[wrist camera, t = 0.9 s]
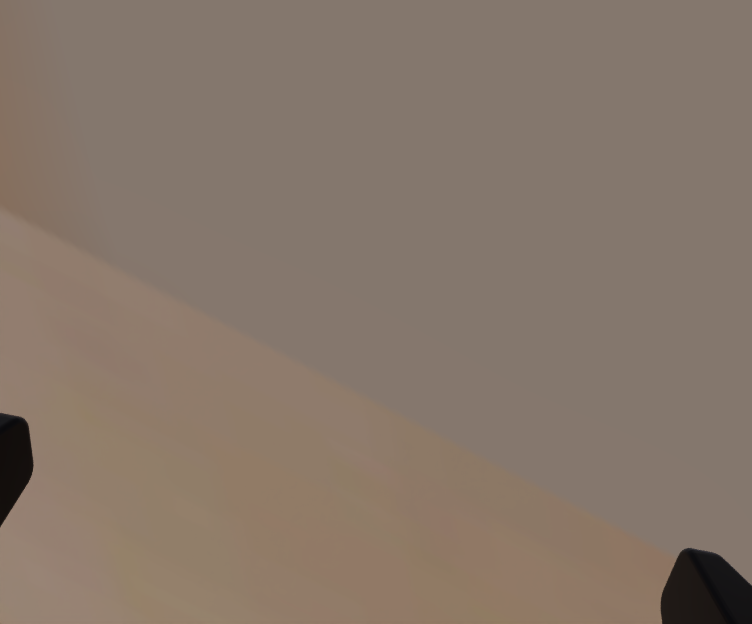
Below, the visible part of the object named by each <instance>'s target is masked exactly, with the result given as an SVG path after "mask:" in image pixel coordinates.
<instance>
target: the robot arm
mask: <svg viewBox="0 0 752 624" xmlns="http://www.w3.org/2000/svg"><path fill="white" fill-rule="evenodd" d="M32 472H33V456H32V448H31V440H30V433H29V426H28V423H27V422H26V420H25V419H23V418H22V417H19V416H14V415H9V414H4V413H0V527H1V525H2V524H3V522H4V520H5V519H6V517H7V516H8V514H9V512H10V511H11V509H12V508H13V506H14V505H15V503H16V501H17V500H18V498H19V497H20V495H21V493H22V492H23V490H24V489H25V487H26V485H27V484H28V482H29V480H30V478H31V475H32ZM661 616H662V624H752V585H751V584H750V583H748V582H747V581H746V580H745V579H744V578H743V577H742V576H741V575H740V574H739V573H738V572H737V571H736V570H735V569H734V568H733V567H732V566H731V565H730V564H729V563H728V562H726V561H725V560H724V559H723V558H722V557H721V556H720V555H718V554H716V553H712V552H708V551H702V550H697V549H692V548H687V549H684V550H682V551H681V552H680V554H679V556H678V558H677V560H676V562H675V565H674V567H673V569H672V571H671V574H670V576H669V578H668V581H667V583H666V585H665V587H664V590H663V593H662V597H661Z"/></svg>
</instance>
